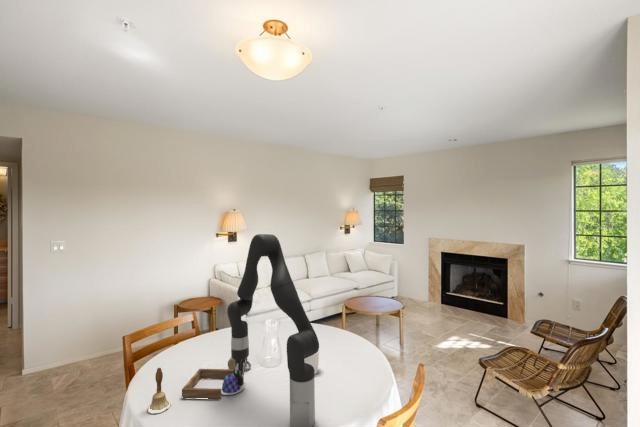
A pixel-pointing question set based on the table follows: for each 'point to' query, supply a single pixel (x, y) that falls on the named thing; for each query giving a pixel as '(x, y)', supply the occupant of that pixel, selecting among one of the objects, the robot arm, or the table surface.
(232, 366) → the ceramic mug
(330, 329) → the table surface
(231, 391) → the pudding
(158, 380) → the hand bell
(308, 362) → the white cup
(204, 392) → the corral
